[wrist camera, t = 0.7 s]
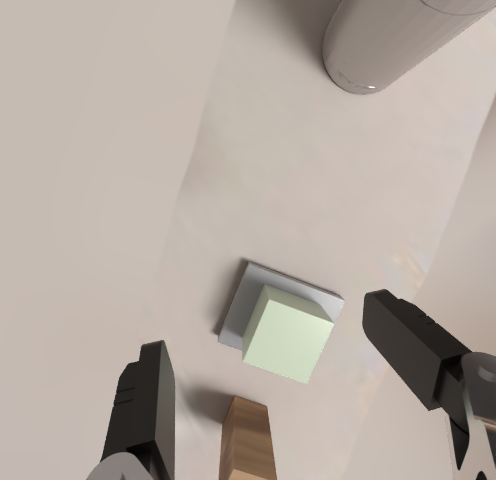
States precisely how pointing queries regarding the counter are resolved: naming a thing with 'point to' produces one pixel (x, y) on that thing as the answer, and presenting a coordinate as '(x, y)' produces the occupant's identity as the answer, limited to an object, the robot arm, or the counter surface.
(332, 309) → the foundation
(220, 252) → the counter surface
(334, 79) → the robot arm
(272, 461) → the walnut pillar block
